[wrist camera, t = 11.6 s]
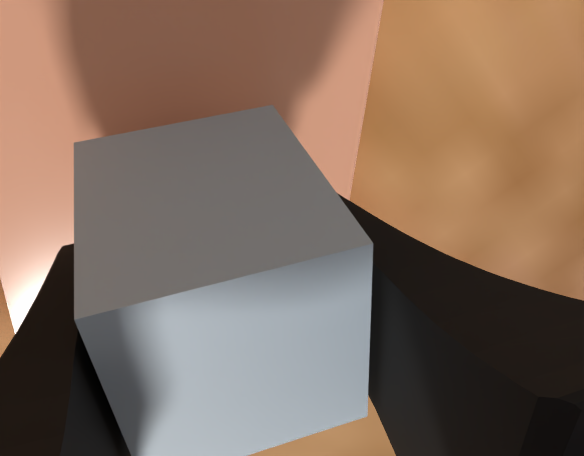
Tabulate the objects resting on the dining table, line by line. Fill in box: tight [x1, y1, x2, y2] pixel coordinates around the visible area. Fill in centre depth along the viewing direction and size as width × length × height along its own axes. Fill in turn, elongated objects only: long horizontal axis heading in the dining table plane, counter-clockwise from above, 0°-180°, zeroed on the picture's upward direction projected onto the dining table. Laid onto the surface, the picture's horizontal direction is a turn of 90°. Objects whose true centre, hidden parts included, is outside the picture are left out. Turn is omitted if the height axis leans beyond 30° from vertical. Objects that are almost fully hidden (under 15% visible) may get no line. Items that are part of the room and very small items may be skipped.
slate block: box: [74, 105, 373, 456], centre depth 10 cm, size 4×4×5 cm
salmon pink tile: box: [0, 0, 384, 334], centre depth 14 cm, size 9×9×1 cm
